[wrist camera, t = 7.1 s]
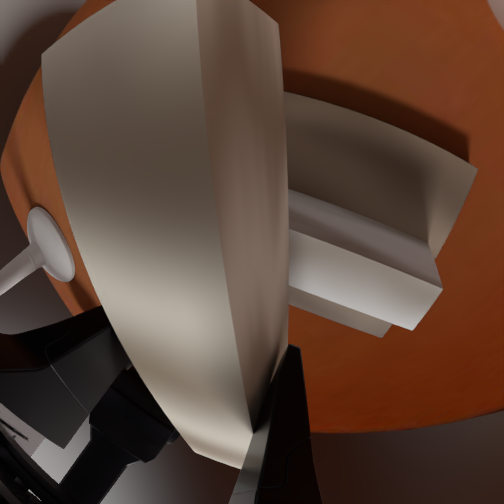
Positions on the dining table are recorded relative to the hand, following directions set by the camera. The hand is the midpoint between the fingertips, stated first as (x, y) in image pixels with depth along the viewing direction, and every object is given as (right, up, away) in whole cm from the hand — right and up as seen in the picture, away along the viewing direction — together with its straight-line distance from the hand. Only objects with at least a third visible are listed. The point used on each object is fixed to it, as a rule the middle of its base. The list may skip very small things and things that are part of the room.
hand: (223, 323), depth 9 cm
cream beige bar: (0, +1, +1) cm, 1 cm away
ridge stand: (+3, +6, +9) cm, 11 cm away
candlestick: (-30, +4, +25) cm, 39 cm away
